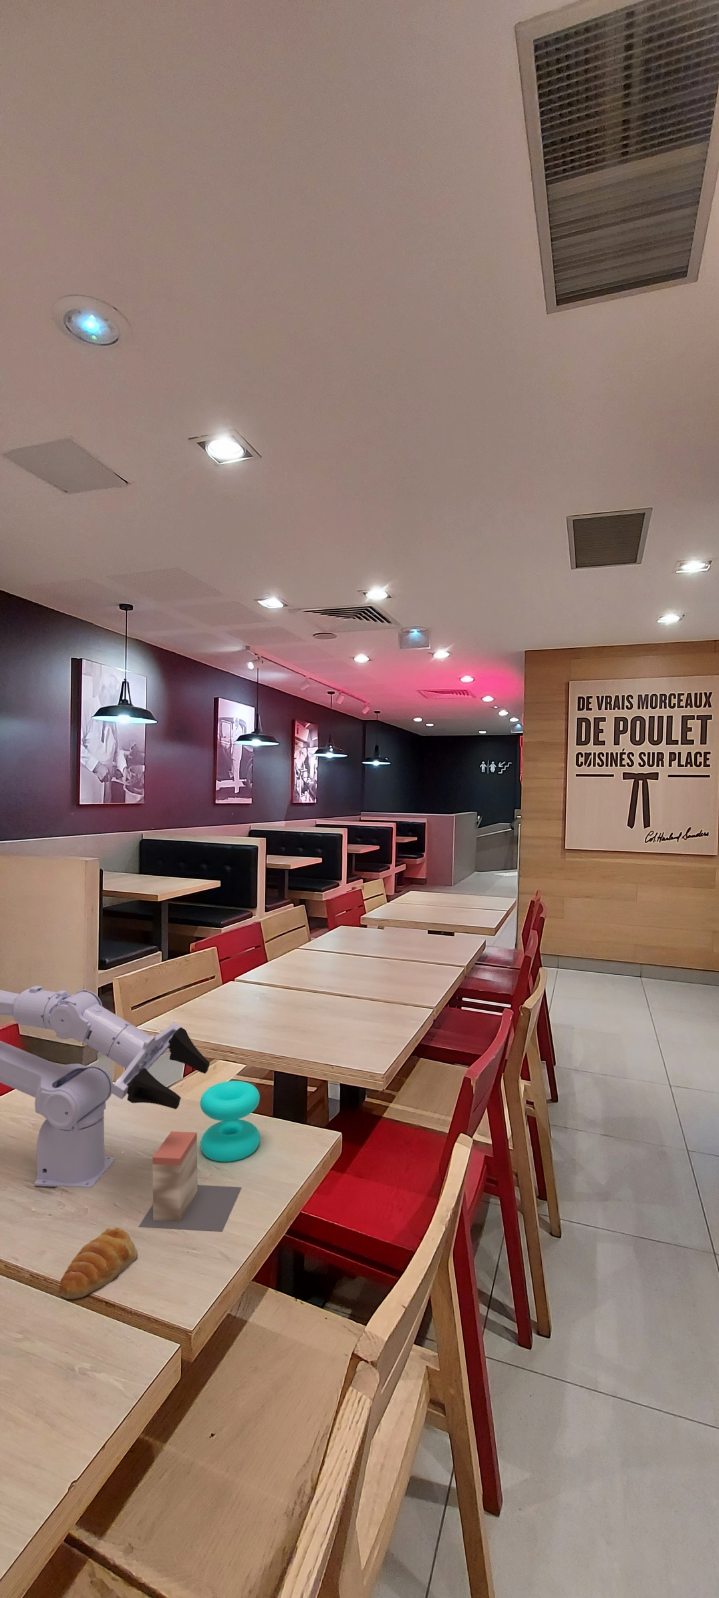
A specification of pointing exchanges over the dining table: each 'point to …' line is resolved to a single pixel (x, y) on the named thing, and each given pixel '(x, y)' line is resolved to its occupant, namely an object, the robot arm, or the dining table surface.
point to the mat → (201, 1210)
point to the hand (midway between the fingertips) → (193, 1085)
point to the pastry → (98, 1263)
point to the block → (174, 1176)
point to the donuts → (230, 1121)
